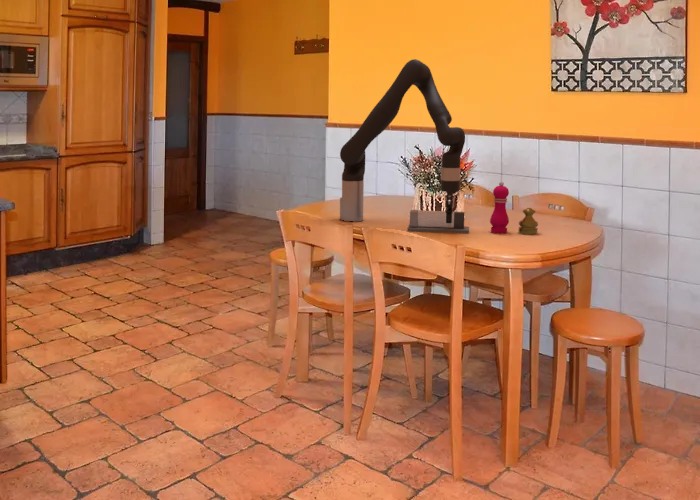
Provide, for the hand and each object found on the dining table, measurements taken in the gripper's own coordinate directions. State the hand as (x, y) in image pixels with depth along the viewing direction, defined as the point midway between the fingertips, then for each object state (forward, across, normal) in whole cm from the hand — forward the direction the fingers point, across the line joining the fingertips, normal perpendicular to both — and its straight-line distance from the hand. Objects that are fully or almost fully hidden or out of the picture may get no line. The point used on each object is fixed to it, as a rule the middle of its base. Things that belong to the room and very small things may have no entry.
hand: (448, 222), depth 277 cm
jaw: (+2, -1, +3) cm, 4 cm away
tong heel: (+2, 0, +14) cm, 14 cm away
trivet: (+4, 0, +4) cm, 5 cm away
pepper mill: (+4, +1, -20) cm, 20 cm away
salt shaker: (+4, +1, -31) cm, 31 cm away
